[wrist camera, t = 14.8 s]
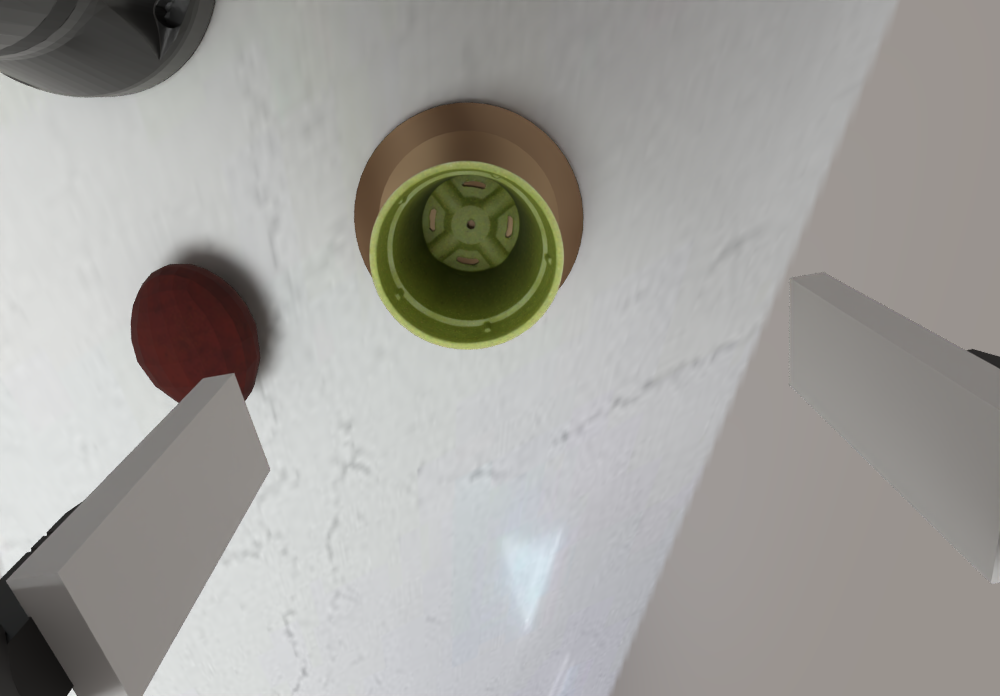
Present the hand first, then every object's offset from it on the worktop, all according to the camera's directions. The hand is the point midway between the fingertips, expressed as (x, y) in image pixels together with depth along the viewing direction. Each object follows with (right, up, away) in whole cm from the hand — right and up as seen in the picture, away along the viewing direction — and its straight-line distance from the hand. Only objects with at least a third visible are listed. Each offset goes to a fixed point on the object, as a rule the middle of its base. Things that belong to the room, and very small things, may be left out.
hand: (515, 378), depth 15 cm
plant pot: (-2, +8, +24) cm, 25 cm away
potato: (-19, +2, +27) cm, 33 cm away
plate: (-2, +9, +24) cm, 26 cm away
